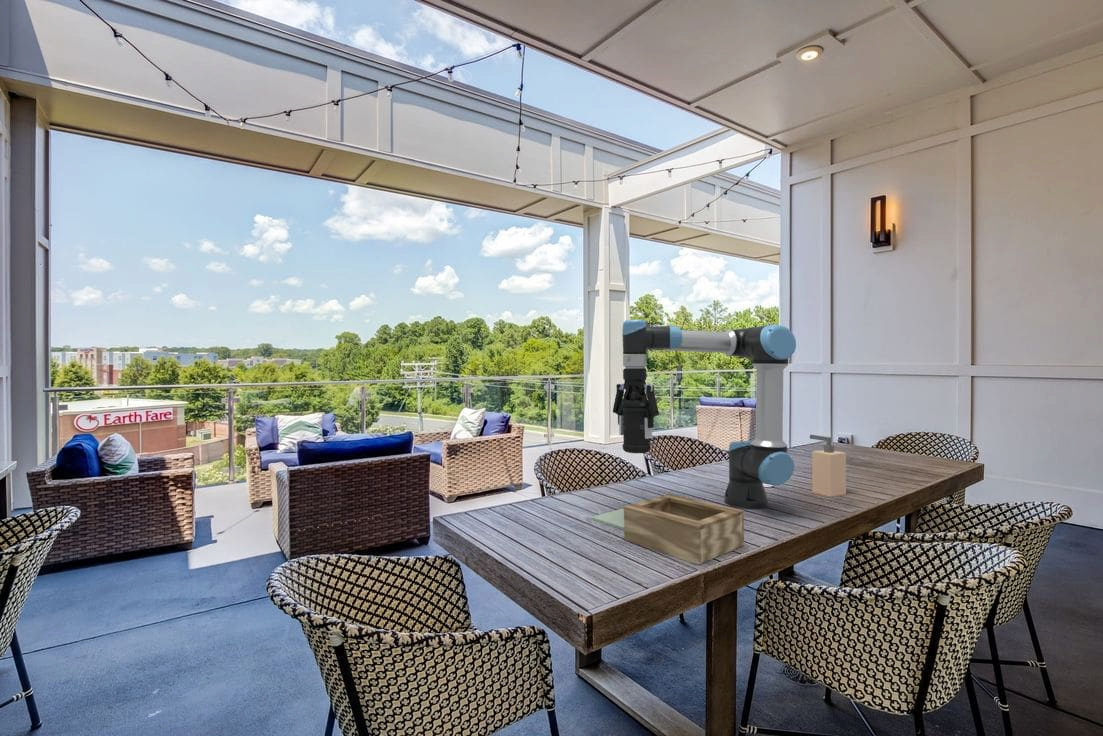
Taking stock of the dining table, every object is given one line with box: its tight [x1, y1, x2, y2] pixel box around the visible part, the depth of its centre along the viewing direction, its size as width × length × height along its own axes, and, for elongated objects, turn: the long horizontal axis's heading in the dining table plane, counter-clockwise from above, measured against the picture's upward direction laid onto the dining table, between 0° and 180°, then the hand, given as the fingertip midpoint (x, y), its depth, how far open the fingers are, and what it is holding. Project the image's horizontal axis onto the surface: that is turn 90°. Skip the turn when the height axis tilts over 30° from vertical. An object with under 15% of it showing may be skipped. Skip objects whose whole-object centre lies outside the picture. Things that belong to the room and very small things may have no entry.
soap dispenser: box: [809, 434, 847, 498], centre depth 213 cm, size 13×9×22 cm
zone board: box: [591, 507, 624, 531], centre depth 179 cm, size 16×16×1 cm
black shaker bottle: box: [622, 390, 652, 454], centre depth 174 cm, size 9×11×20 cm
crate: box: [623, 493, 745, 565], centre depth 156 cm, size 22×26×10 cm
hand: (635, 436), depth 174 cm, fingers closed on black shaker bottle, 10 cm apart
